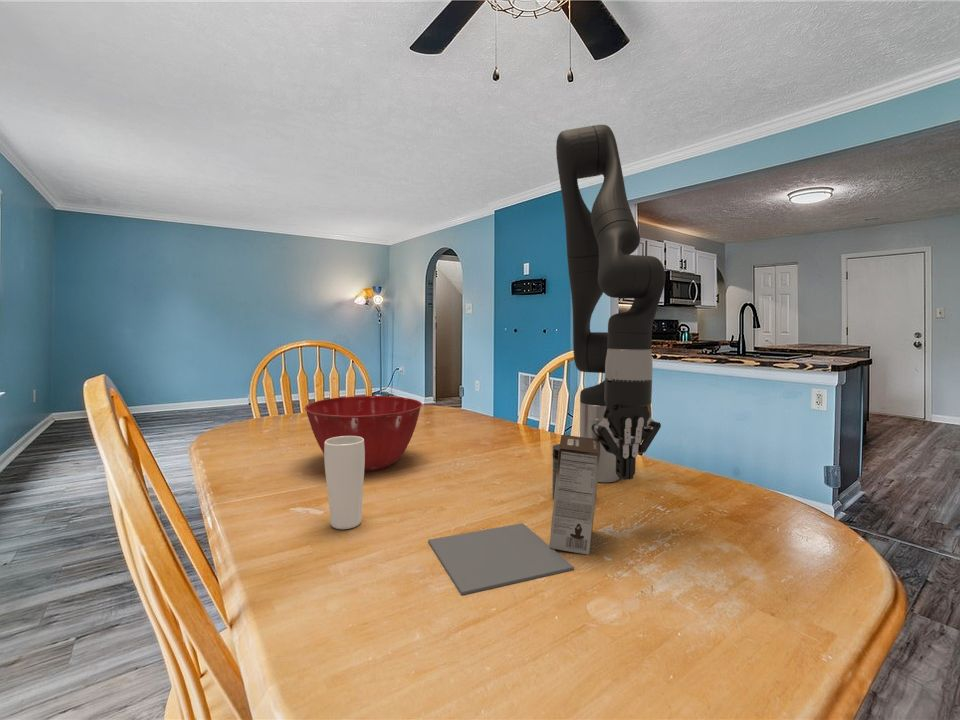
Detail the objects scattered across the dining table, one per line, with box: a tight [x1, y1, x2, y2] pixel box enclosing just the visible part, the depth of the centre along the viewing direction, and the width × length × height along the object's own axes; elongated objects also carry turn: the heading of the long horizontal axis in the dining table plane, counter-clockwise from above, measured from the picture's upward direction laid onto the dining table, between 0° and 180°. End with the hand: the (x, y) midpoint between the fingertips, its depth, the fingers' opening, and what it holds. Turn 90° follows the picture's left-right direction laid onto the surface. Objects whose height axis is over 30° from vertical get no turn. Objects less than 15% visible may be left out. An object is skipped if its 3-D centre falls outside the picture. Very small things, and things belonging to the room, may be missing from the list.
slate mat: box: [427, 522, 575, 596], centre depth 70 cm, size 17×16×1 cm
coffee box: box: [549, 434, 601, 556], centre depth 75 cm, size 9×6×16 cm
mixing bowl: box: [304, 395, 423, 473], centre depth 117 cm, size 28×28×15 cm
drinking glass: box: [323, 436, 365, 530], centre depth 81 cm, size 7×7×15 cm
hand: (625, 478), depth 79 cm, fingers closed
